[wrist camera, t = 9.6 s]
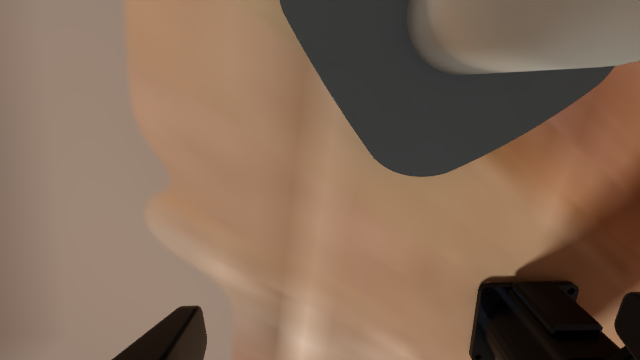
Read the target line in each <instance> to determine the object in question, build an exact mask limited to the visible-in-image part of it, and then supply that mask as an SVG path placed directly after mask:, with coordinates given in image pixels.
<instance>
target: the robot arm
mask: <svg viewBox="0 0 640 360" xmlns="http://www.w3.org/2000/svg"><path fill="white" fill-rule="evenodd" d="M487 290H489V291H488V292H486V291H487ZM485 292H486V293H485ZM578 292H579V289H578V287H577V286H576V285H575V284H574V283H572V282H569V281H564V282H552V281H548V282H516V283H485V284H482V285H481V286H480V287H479V289H478V295H477V302H476V309H475V316H474V323H473V330H472V337H471V344H470V350H469V355H470V357H471V359H472V360H640V292H630V293H627V294H626V295H625V296H624V297H623V300H622V302H621V305H620V308H619V311H618V314H617V316H616V319H615V323H614V324H615V330H616V332H617V334H618V336H619V337H620V339H621V340H622V342H623V343H624V344H625V346H624V347H623V348H621V349H620V348H619V347H618V346H617V345H616V344H615V343H614V342H612V341H611V340H610V339H609V338H608V337H607V336H606V335H605V334H604V333H603V332H602V329H603V327H602V326H601V325H600V324H599V323H598V322H597V321H596V320H595V319H594V318H593V317H592V316H590V315H589V314H588V313H587V312H586V311H585V310H584V309H583V308H582V307H580V306H579V305H578V304H577V303H576V299H577V295H578ZM206 345H207V334H206V329H205V323H204V318H203V312H202V309H201V307H199V306H181V307H179V308H177V309H176V310H175V311H173V312H172V313H171V314H169V315H168V316H167V317H166V318H164V319H163V320H162V321H160V322H159V323H158V324H157V325H155V326H154V327H153V328H152V329H150V330H149V331H148V332H146V333H145V334H144V335H143V336H142V337H140V338H139V339H137V340H136V341H135V342H134V343H132V344H131V345H130V346H129V347H127V348H126V349H125V350H123V351H122V352H121V353H120V354H118V355H117V356H116V357H115V358H114V359H112V360H203V358H204V355H205V350H206ZM477 354H478V355H477Z"/></svg>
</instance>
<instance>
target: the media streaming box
mask: <svg viewBox="0 0 640 360" xmlns="http://www.w3.org/2000/svg"><path fill="white" fill-rule="evenodd" d="M408 3H409V0H280V4H281V7H282V10H283V13H284V15H285V16H286V18H287V20H288V22H289V24H290V26H291V28H292V29H293V31H294V33H295V35H296V37H297V38H298V40H299V42H300V44H301V45H302V47H303V49H304V51H305V52H306V54H307V56H308V58H309V59H310V61H311V63H312V64H313V66H314V68H315V69H316V71H317V73H318V74H319V76H320V78H321V79H322V81H323V83H324V84H325V86H326V88H327V89H328V91H329V92H330V94H331V96H332V97H333V99H334V100H335V102H336V103H337V105H338V106H339V108H340V110H341V111H342V113H343V114H344V116H345V117H346V119H347V120H348V122H349V123H350V125H351V126H352V128H353V129H354V131H355V132H356V133H357V135H358V136H359V138H360V139H361V141H362V142H363V144H364V145H365V146H366V148H367V149H368V151H369V152H370V153H371V155H372V156H373V157H374V159H376V160H377V161H378V162H379V163H380V164H382V165H383V166H385V167H386V168H388V169H390V170H392V171H394V172H397V173H400V174H404V175H409V176H418V177H426V176H435V175H440V174H444V173H447V172H449V171H452V170H454V169H456V168H458V167H461V166H463V165H465V164H467V163H469V162H471V161H473V160H475V159H477V158H480V157H482V156H484V155H486V154H488V153H489V152H491V151H493V150H495V149H497V148H499V147H501V146H503V145H505V144H507V143H508V142H510V141H512V140H514V139H516V138H517V137H519V136H521V135H523V134H524V133H526V132H528V131H530V130H531V129H533V128H535V127H536V126H538V125H540V124H541V123H543V122H544V121H546V120H548V119H549V118H551V117H552V116H554V115H556V114H557V113H559V112H560V111H562V110H563V109H565V108H566V107H568V106H569V105H571V104H572V103H574V102H575V101H576V100H578V99H579V98H581V97H582V96H584V95H585V94H586V93H588V92H589V91H590V90H592V89H593V88H595V87H596V86H597V85H599V84H600V83H601V82H602V81H603V80H604V79H605V77H606V76H607V75H608V74H609V73H610V72H611V70H612V69H613V68H614V66H606V67H594V68H576V69H559V70H542V71H524V72H507V73H490V74H472V75H453V74H447V73H444V72H441V71H439V70H437V69H434V68H433V67H431V66H430V65H428V64H427V63H426V62H425V61H424V60H423V59H422V58H421V57H420V56H419V55H418V53H417V52H416V50H415V49H414V47H413V45H412V42H411V40H410V37H409V33H408V28H407V8H408Z"/></svg>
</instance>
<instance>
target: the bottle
mask: <svg viewBox="0 0 640 360" xmlns="http://www.w3.org/2000/svg"><path fill="white" fill-rule="evenodd" d="M407 28H408V33H409V37H410V40H411V42H412V45H413V47H414V49H415V50H416V52H417V53H418V55H419V56H420V57H421V58H422V59H423V60H424V61H425V62H426V63H427V64H428V65H430V66H431V67H433V68H434V69H437V70H439V71H441V72H444V73H447V74H453V75H472V74H490V73H507V72H524V71H542V70H559V69H576V68H594V67H606V66H616V65H622V64H626V63H631V62H635V61H639V60H640V0H409V3H408V8H407Z"/></svg>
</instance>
